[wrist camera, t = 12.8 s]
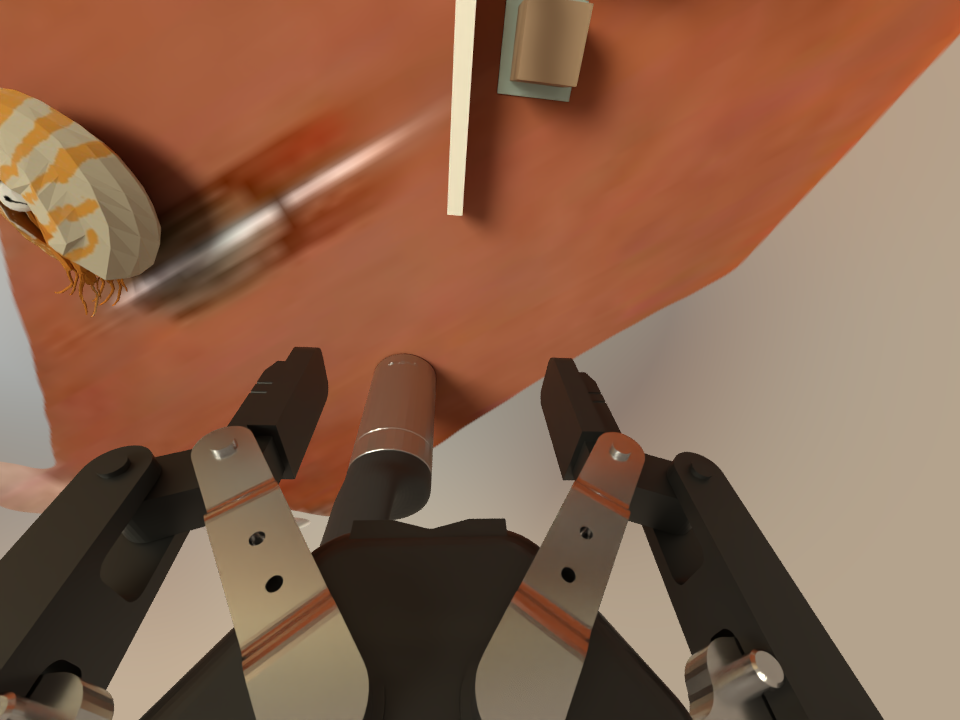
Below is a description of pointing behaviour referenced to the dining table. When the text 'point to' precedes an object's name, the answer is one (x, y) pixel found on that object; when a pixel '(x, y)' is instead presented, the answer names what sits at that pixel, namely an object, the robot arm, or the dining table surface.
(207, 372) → the dining table surface
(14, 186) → the nautilus
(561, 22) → the block
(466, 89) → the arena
